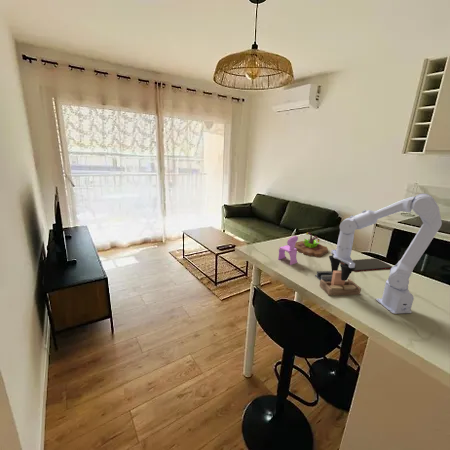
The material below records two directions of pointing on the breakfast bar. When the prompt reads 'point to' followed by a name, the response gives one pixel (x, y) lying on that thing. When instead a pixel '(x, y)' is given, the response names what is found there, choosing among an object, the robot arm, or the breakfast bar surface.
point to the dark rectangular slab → (369, 265)
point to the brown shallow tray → (340, 292)
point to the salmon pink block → (337, 278)
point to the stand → (324, 275)
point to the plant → (311, 247)
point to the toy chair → (289, 250)
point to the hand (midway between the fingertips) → (338, 275)
